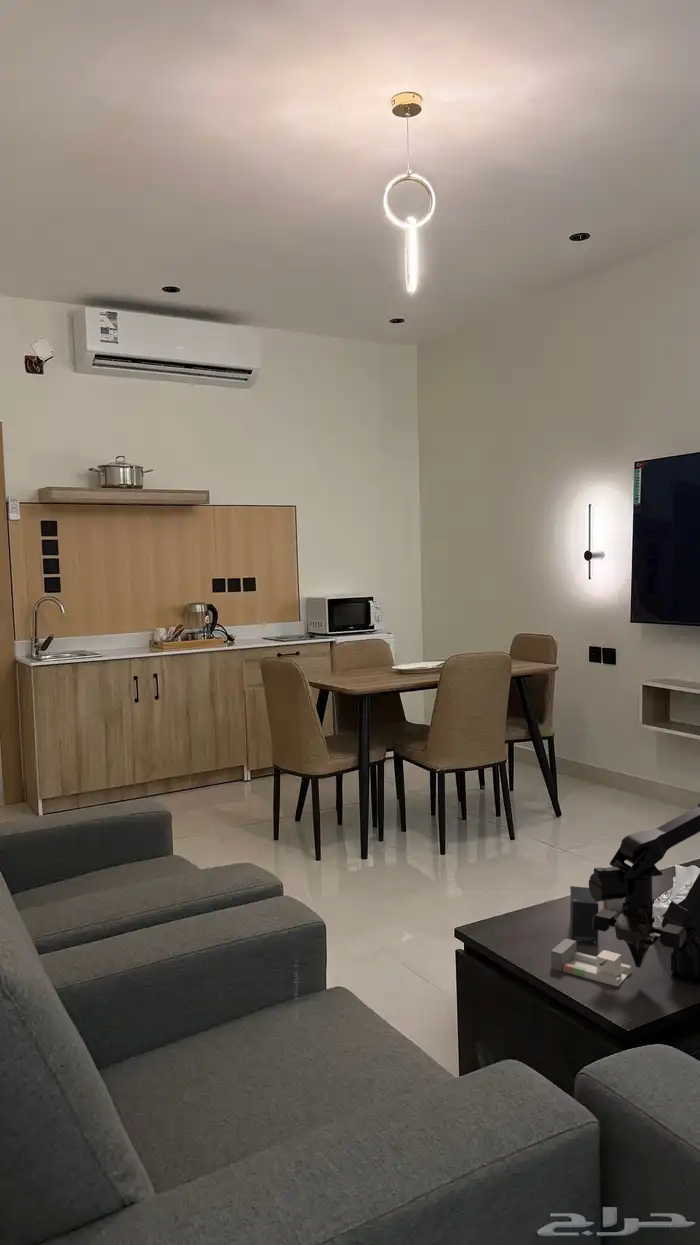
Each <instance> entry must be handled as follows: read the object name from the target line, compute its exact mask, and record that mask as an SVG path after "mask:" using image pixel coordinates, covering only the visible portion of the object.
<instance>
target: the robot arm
mask: <svg viewBox="0 0 700 1245" xmlns="http://www.w3.org/2000/svg"><path fill="white" fill-rule="evenodd" d="M698 833H700V803H698V804H697V806H695V807H694V808H692V809H690V810H688V811H686V812H685V813H683V814H681V815H679V816H677V817H674V818H673V819H671V820H670V821H668V822H665V823H663V824H661V825H660V826H659V827H656V828H654V829H650V830H643V831H638V832H635V833H631V834H628V835H626V836H625V837H624V838H622V839H621V843H620V847H619V848H618V850H617V851H616V853H615V854H614V856H613V857H612V859H611V860H610V862H609V867H594V868H593V873H592V874H591V875H590V877H589V880H588V888H589V890H590V893H591V896H592V898H593V899H594V900H595V901H597V902H598V903H599V902H603V901H608V900H616V899H623V898H624V897H625V901H624V902H623V905H622V911H621V914H620V915H619V914H618V912H614V911H610V910H605V909H604V908H603V909H601V910H599V911H598V913H597V914H596V915H595V916H594V917H593V920H592V928H593V929H596V930H598V931H602V932H607V931H609V929H610V927H614V930H615V936H616V939H617V940H619V941H624V942H625V943H626V944H627V947H628V949H629V951H630V954H631V956H632V960H633V961H634V964H635V967H636V968H642V965H643V963H644V960H645V959H646V956H647V953H648V952H649V949H650V947H651V946H653V945H654V944H655V943H656V942H657V941H658V940H659V943H660V944H662V946H663V947H668V948H671V949H673V950H672V951H671V953H670V971H671V973H670V978H672V979H677V980H679V981H684V982H688V983H691V984H694V983H697V984H696V985H698V984H700V872H699V873H698V875H697V877H696V879H695V880H694V882H693V884H692V885H691V888H690V889H689V891H688V892H687V893H686V894H687V895H686V896H685V898H684V899H683V900H682V901H679V902H678V903H677V902H675V901H673V900H671V902H669V905H668V907H667V909H666V911H665V912H664V913H663V914H662V915H661V916H662V921H661V927H659V926H658V925H653V924H654V923H655V917H654V916H653V915H654V914H653V912H654V911H653V907H654V904H655V898H654V895H653V894H654V893H653V890H654V889H653V887H654V886H653V882H654V881H653V877H658V876H659V877H660V876H662V875H663V872H662V871H660V869H659V868H658V867H657V866H656V864H658V862H660V861H661V860H662V859H663V858H664V857H665V854H666V853H667V852H668V850H670V849H671V848H673V847H674V846H677V845H678V844H680V843H682V842H684V841H686V840H687V839H689V838H691V837H693V836H695V835H697V834H698ZM625 861H627V862H629V863H631V864H632V865H629V864H628V863H626V862H625Z"/></svg>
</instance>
